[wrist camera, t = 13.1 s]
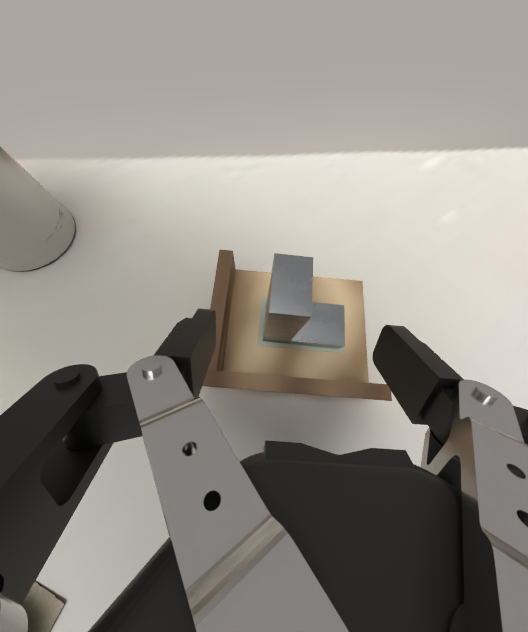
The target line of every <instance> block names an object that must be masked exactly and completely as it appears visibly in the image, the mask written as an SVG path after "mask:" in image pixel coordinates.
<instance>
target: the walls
mask: <svg viewBox="0 0 528 632" xmlns="http://www.w3.org/2000/svg"><path fill="white" fill-rule="evenodd" d="M234 277H235V263H234V256H233V251H228V250H220V251H219V257H218V264H217V270H216V276H215V283H214V289H213V296H212V302H211V308H210V310H215V312H216V346H215V351H214V354H213V356H212V359H211V362H210V365H209V368H208V371H207V373H206V376H205V379H204V382H203V385H202V386H209V387H222V388H235V389H247V390H260V391H272V392H285V393H298V394H310V395H323V396H336V397H348V398H361V399H374V400H386V401H392V397H391V390H390V388H389V387H388V385H386V384H374V383H361V382H349V381H337V380H324V379H312V378H300V377H287V376H275V375H262V374H250V373H238V372H225V371H223V363H224V356H225V348H226V340H227V332H228V324H229V316H230V309H231V301H232V293H233V285H234Z"/></svg>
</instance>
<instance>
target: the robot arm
mask: <svg viewBox="0 0 528 632" xmlns="http://www.w3.org/2000/svg"><path fill="white" fill-rule="evenodd" d="M74 232H75V223H74V219H73V217H72V215H71V214H70V212H69V211H68V210H67V209H66V208H65V207H64V206H62V205H61V204H60V203H59V202H58V201H57V200H56V199H55V198H54V197H53V196H52V195H51V194H50V193H49V192H48V191H47V190H46V189H44V188H43V187H42V186H41V185H40V184H39V183H38V182H37V181H36V180H35V179H34V178H33V177H32V176H31V175H30V174H29V173H28V172H27V171H26V170H25V169H24V168H23V167H21V166H20V165H19V164H18V163H17V162H16V161H15V160H14V159H13V158H12V157H11V156H10V155H9V154H8V153H6V152H5V151H4V150H3V149H2V148H1V147H0V267H1V268H4V269H7V270H12V271H27V270H32V269H36V268H39V267H42V266H44V265H47V264H49V263H50V262H52V261H53V260H55V259H57V258H58V257H59V256H60V255H61V254H62V253H63V252H64V251H65V250H66V249H67V248H68V246H69V245H70V243H71V241H72V239H73V236H74ZM215 346H216V312H215V310H209V309H198V310H197V311H196V313H195V315H194V316H193V318H185V319H183V320H182V321H180V322H178V323H177V324H176V326H175V327H174V328H173V330H172V331H171V332H170V334H169V335H168V337H167V338H166V339H165V341H164V342H163V343H162V345H161V346H160V347H159V349H158V350H157V352H156V353H155V354H154V356H150V357H146V358H143V359H141V360H139V361H137V362H135V363H134V364H133V365H132V366H131V367H130V368H129V369H128V371H127V372H126V373H120V374H113V375H106V376H99V375H98V372H97V370H96V368H95V367H93V366H91V365H85V364H79V365H72V366H68V367H64V368H62V369H59V370H57V371H55V372H53V373H51V374H49V375H47V376H46V377H45V378H43V379H42V380H41V381H40V382H39V383H37V384H36V385H35V386H34V387H33V388H32V389H30V390H29V391H28V392H27V393H26V394H25V395H24V396H22V397H21V398H20V399H19V400H18V401H17V402H15V403H14V404H13V405H12V406H11V407H10V408H8V409H7V410H6V411H5V412H4V413H3V414H2V415H0V632H27V631H28V618H27V614H26V612H25V609H24V608H23V607H22V606H21V605H22V603H23V601H24V600H25V598H26V596H27V594H28V593H29V591H30V589H31V587H32V585H33V584H34V582H35V580H36V578H37V577H38V575H39V573H40V571H41V570H42V568H43V566H44V564H45V563H46V561H47V559H48V557H49V556H50V554H51V552H52V550H53V548H54V547H55V545H56V543H57V541H58V540H59V538H60V536H61V534H62V533H63V531H64V529H65V527H66V526H67V524H68V522H69V520H70V518H71V517H72V515H73V513H74V511H75V510H76V508H77V506H78V504H79V503H80V501H81V499H82V497H83V496H84V494H85V492H86V490H87V489H88V487H89V485H90V483H91V481H92V480H93V478H94V476H95V474H96V473H97V471H98V469H99V467H100V466H101V464H102V462H103V460H104V459H105V457H106V455H107V453H108V452H109V450H110V448H111V446H112V444H113V443H114V442H118V441H122V440H127V439H131V438H136V437H140V436H143V439H144V443H145V447H146V450H147V454H148V458H149V461H150V465H151V469H152V472H153V476H154V480H155V484H156V487H157V491H158V495H159V498H160V502H161V506H162V510H163V513H164V517H165V521H166V524H167V528H168V532H169V536H170V537H169V538H168V539H167V541H166V542H165V543H164V544H163V545H162V546H161V548H160V549H159V550H158V551H157V552H156V553H155V555H154V556H153V557H152V558H151V559H150V560H149V562H148V563H147V564H146V565H145V566H144V567H143V568H142V570H141V571H140V572H139V573H138V574H137V575H136V577H135V578H134V579H133V580H132V581H131V582H130V584H129V585H128V586H127V587H126V588H125V589H124V591H123V592H122V593H121V594H120V595H119V596H118V597H117V599H116V600H115V601H114V602H113V603H112V604H111V606H110V607H109V608H108V609H107V610H106V611H105V613H104V614H103V615H102V616H101V617H100V618H99V620H98V621H97V622H96V623H95V624H94V625H93V626H92V628H91V629H90V630H89V631H88V632H528V410H526V409H523V408H519V407H516V406H513V405H512V403H511V402H510V401H509V400H508V399H507V398H506V397H505V396H504V395H502V394H501V393H500V392H498V391H497V390H495V389H493V388H491V387H489V386H487V385H485V384H483V383H480V382H477V381H472V380H464V379H463V378H462V377H461V376H459V375H458V374H457V373H456V372H455V371H454V370H453V369H452V368H451V367H450V366H449V365H448V364H447V363H445V362H444V361H443V360H441V358H440V357H439V356H438V355H437V354H436V353H434V351H432V350H431V349H430V348H429V347H428V346H427V345H426V344H424V343H423V342H421V341H419V340H418V339H417V338H416V337H415V336H414V335H413V334H412V333H411V332H410V331H409V330H408V329H406V328H405V327H404V326H394V325H386V326H384V327H383V329H382V331H381V334H380V336H379V339H378V341H377V344H376V346H375V349H374V352H373V362H374V365H375V366H376V368H377V369H378V371H379V372H380V374H381V376H382V377H383V379H384V380H385V382H386V383H387V385H388V387H389V388H390V390H391V391H392V393H393V394H394V396H395V397H396V399H397V401H398V402H399V404H400V405H401V407H402V408H403V410H404V411H405V413H406V415H407V416H408V418H409V419H410V421H411V422H412V424H423V425H428V426H429V429H428V430H427V432H426V433H425V439H424V447H423V454H422V461H421V467H419V466H416V465H414V464H413V463H412V461H411V459H410V458H409V456H408V454H407V452H406V450H392V449H378V448H370V449H365V450H361V451H356V452H352V453H347V454H343V455H336V454H333V453H330V452H327V451H323V450H320V449H317V448H314V447H311V446H308V445H305V444H302V443H292V442H278V441H265V446H264V452H263V453H259V454H255V455H252V456H250V457H247V458H245V459H243V460H242V461H240V462H239V460H238V458H237V457H236V455H235V453H234V452H233V450H232V448H231V447H230V445H229V443H228V442H227V440H226V438H225V436H224V435H223V433H222V431H221V430H220V428H219V426H218V425H217V423H216V421H215V419H214V418H213V416H212V414H211V413H210V411H209V409H208V408H207V406H206V404H205V402H204V401H203V400H202V398H201V397H198V396H199V393H200V390H201V388H202V385H203V382H204V379H205V376H206V373H207V371H208V368H209V365H210V362H211V359H212V356H213V354H214V351H215Z"/></svg>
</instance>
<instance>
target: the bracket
mask: <svg viewBox="0 0 528 632" xmlns="http://www.w3.org/2000/svg"><path fill="white" fill-rule="evenodd" d="M312 282H313V258H312V257H303V256H294V255H284V254H274V260H273V266H272V272H271V278H270V284H269V290H268V296H267V302H266V313H265V323H264V334H263V341H267V342H277V343H287V344H297V345H307V346H317V347H327V348H337V349H339V348H342V347H344V346H345V313H344V305H337V304H328V303H318V302H312Z"/></svg>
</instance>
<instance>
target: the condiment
mask: <svg viewBox="0 0 528 632" xmlns="http://www.w3.org/2000/svg"><path fill="white" fill-rule="evenodd" d="M21 606H22V607H23V608H24V609H25V612H26V614H27V618H28V631H27V632H50V630H51V628H52V626H53V624H54V622H55V620H56V618H57V617H58V615H59V613H60V611H61V609H62V607H63V606H64V603H63V602H61V601H60V600H58V599H57V598H56V597H55V595H54V594H52V593H50V592H49V591H48V590H46V589H45V588H43V587H41V586H40V585H39V584H38V583H36V582H34V584H33V585H32V587H31V589H30V591H29V593H28V594H27V596H26V598H25V600H24V601H23V603H22V605H21Z"/></svg>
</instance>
